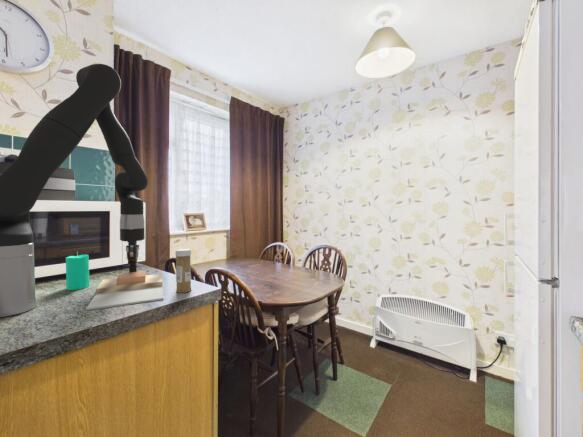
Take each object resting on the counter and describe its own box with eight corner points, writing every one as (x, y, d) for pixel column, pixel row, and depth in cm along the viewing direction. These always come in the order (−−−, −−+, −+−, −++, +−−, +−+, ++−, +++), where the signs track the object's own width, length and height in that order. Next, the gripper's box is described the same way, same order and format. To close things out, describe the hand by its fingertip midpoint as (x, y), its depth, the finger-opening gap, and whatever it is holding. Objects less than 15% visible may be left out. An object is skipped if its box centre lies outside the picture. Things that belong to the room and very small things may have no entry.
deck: (96, 295, 79) (96, 289, 79) (103, 285, 90) (103, 279, 90) (162, 287, 87) (162, 281, 87) (161, 278, 98) (161, 273, 98)
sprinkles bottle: (192, 291, 83) (192, 249, 83) (177, 294, 81) (176, 251, 80) (189, 288, 87) (189, 248, 87) (174, 290, 85) (174, 249, 84)
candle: (92, 283, 91) (91, 249, 91) (85, 288, 85) (84, 252, 85) (71, 285, 89) (70, 250, 89) (62, 290, 84) (61, 253, 83)
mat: (86, 310, 68) (86, 308, 68) (96, 295, 79) (96, 293, 79) (163, 299, 76) (163, 297, 76) (162, 287, 87) (162, 286, 87)
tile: (116, 285, 83) (116, 278, 83) (119, 279, 90) (119, 273, 90) (145, 282, 87) (145, 276, 87) (146, 276, 94) (146, 270, 94)
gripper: (121, 226, 97) (122, 272, 98) (117, 228, 86) (118, 280, 86) (144, 225, 101) (145, 270, 102) (143, 228, 89) (144, 278, 90)
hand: (133, 275), depth 94 cm, fingers closed
